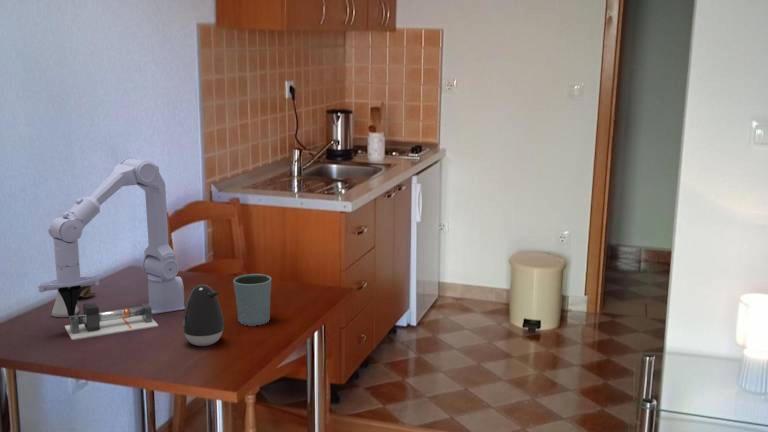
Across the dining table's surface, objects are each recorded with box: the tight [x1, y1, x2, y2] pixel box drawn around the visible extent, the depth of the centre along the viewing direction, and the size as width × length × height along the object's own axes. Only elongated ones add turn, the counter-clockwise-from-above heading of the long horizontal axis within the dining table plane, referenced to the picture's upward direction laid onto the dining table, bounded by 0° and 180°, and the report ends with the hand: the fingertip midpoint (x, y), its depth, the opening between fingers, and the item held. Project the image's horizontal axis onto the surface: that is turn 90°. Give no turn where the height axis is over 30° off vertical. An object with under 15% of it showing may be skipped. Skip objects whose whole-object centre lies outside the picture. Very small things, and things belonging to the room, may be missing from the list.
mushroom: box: [79, 285, 96, 299], centre depth 247 cm, size 8×8×6 cm
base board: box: [64, 316, 159, 341], centre depth 222 cm, size 22×11×1 cm, turn 120°
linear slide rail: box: [68, 303, 153, 334], centre depth 222 cm, size 20×4×4 cm, turn 120°
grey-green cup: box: [232, 273, 272, 327], centre depth 227 cm, size 10×10×12 cm
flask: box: [50, 288, 80, 318], centre depth 231 cm, size 7×7×10 cm
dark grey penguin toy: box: [182, 284, 225, 347], centre depth 210 cm, size 10×10×15 cm
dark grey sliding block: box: [82, 302, 100, 331], centre depth 219 cm, size 3×5×6 cm, turn 30°
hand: (71, 314), depth 216 cm, fingers closed
